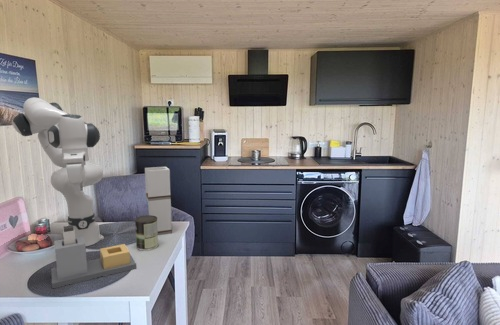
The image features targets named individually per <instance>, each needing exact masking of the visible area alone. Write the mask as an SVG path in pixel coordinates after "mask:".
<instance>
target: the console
mask: <svg viewBox="0 0 500 325" xmlns="http://www.w3.org/2000/svg"><path fill="white" fill-rule="evenodd" d="M75 242H76V244H70V245H65V246H64V238H63V239H58V240H54V251H55V262H56V267H51V269H50V271H51V272H50V273H51V275H50V276H51V287H52V288H51V289H53V288H54V289H57V288H62V287H65V285H66V286H70V285H73V283H74V284H78V283H83V282H85V281H86V280H87V281H89V280H90V279H91V280H94V279H93V278H95V279H98V278H97V277H99V278H102V277H101V276H103V277H106V276H105V275H107V276H111V275H110V274H112V275H115V274H114V273H116V274H120V273H124V272H127V271H131V270H132V271H133V270H136V269H137V262H136V261H135V260H134V258H133V257H132V255H131V253H130V250H129V249H128V247H127V245H126V244H125V243H123V244H122V243H121V244H117V245H112V246H107V247H102V248H99V258H95V259H90V260H87V251H86V250H87V248H86V247H87V246H86V247H85V241H84V238H83V236H79V237H75ZM119 272H120V273H119ZM91 280H90V281H91ZM69 284H70V285H69ZM61 286H62V287H61Z"/></svg>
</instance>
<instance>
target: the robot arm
mask: <svg viewBox="0 0 500 325" xmlns="http://www.w3.org/2000/svg"><path fill="white" fill-rule="evenodd" d="M22 108H23V112H22V113H18V114H17V115H16V116H14V117H13V119H12V125H13V128H14V129H15V131H16V132H17V133H18V134H20V135H21V136H22V137H30V136H33V135H35V134H37V139H38V141H39V143H40V145H41V147H42V149H43V151H44V152H45V154H46V155H47V157H48V158H49V160H50V162H52V164H54V166H57V167H59V168H60V169H57V170H55V171H53V172H52V173H51V175H50V185H51V186H52V188H53V189H54V190H56V191H58V192H59V193H61V194H62V195H63V197H64V199H65V200H66V203H67V204H66V206H67V213H68V216H67V224H68V225H67V226H71V225H73V228H74V230H75V237H79V236H83V238H84V241H85V247H89V246H92V245H95V244H97V243H98V242H100V241H102V240H104V239H105V237H104V235H102V234H100V224H99V223H98V222H96V215H95V213H94V200H93V198H92V197H91V196H90V195H87V194H85V191H84V188H85V187H89V186H92V185H95V184H97V183H99V182H100V181H101V180H102V179H103V176H104V173H103V169H102V168H101V166H100V165H99V164H96V163H93V162H91V161H89V160H90V158H89V157H90V156H89V148H94V147H95V146H96V145H97V144H98V143H99V141H100V139H101V133H100V130H99V128H98V127H96V125H95V124H93V123H92V122H91V123H90V122H89V123H87V122H86V121H85V120H84V117H83V116H82V115H80V114H73V113H72V114H71V113H68V112H65V110H64V109H63V107H62V106H61V105H59V103H57V102H48V101H47V100H45V99H43V98H40V97H29V98H27V99H26V100H25V101H24V103H23V107H22Z"/></svg>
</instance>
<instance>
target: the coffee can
mask: <svg viewBox="0 0 500 325" xmlns="http://www.w3.org/2000/svg"><path fill="white" fill-rule="evenodd" d="M134 225H135V239H136V240H135V241H136V242H135V244H136V250H140V251H149V250H150V251H151V250H154V249H156V248H158V247H159V238H158V236H159V235H158V231H157V217H156V216H152V215H149V214H148V215H142V216H141V215H140V216H137V217H136V218H134Z"/></svg>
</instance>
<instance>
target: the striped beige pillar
mask: <svg viewBox="0 0 500 325" xmlns="http://www.w3.org/2000/svg"><path fill="white" fill-rule="evenodd" d="M144 178H145V183H144V184H145V199H146V201H147V203H148V204H147V205H148V206H147V207H148V215H152V216H156V217H157V231H158V236H162V235H168V234H173V227H172V226H173V224H172V203H171V202H172V200H171V197H172V196H171V195H172V194H171V170H170V168H168V167H167V166H156V167H155V166H153V167H144Z"/></svg>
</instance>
